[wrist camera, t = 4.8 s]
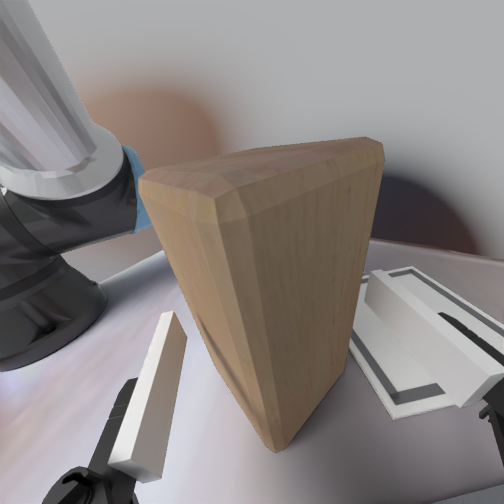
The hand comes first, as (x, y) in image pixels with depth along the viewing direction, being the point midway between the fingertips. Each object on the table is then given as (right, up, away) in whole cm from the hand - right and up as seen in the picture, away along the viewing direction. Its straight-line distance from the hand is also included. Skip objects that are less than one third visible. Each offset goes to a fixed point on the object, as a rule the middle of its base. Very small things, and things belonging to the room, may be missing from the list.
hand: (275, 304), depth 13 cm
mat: (+16, -4, +9) cm, 19 cm away
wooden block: (+1, -9, +7) cm, 11 cm away
